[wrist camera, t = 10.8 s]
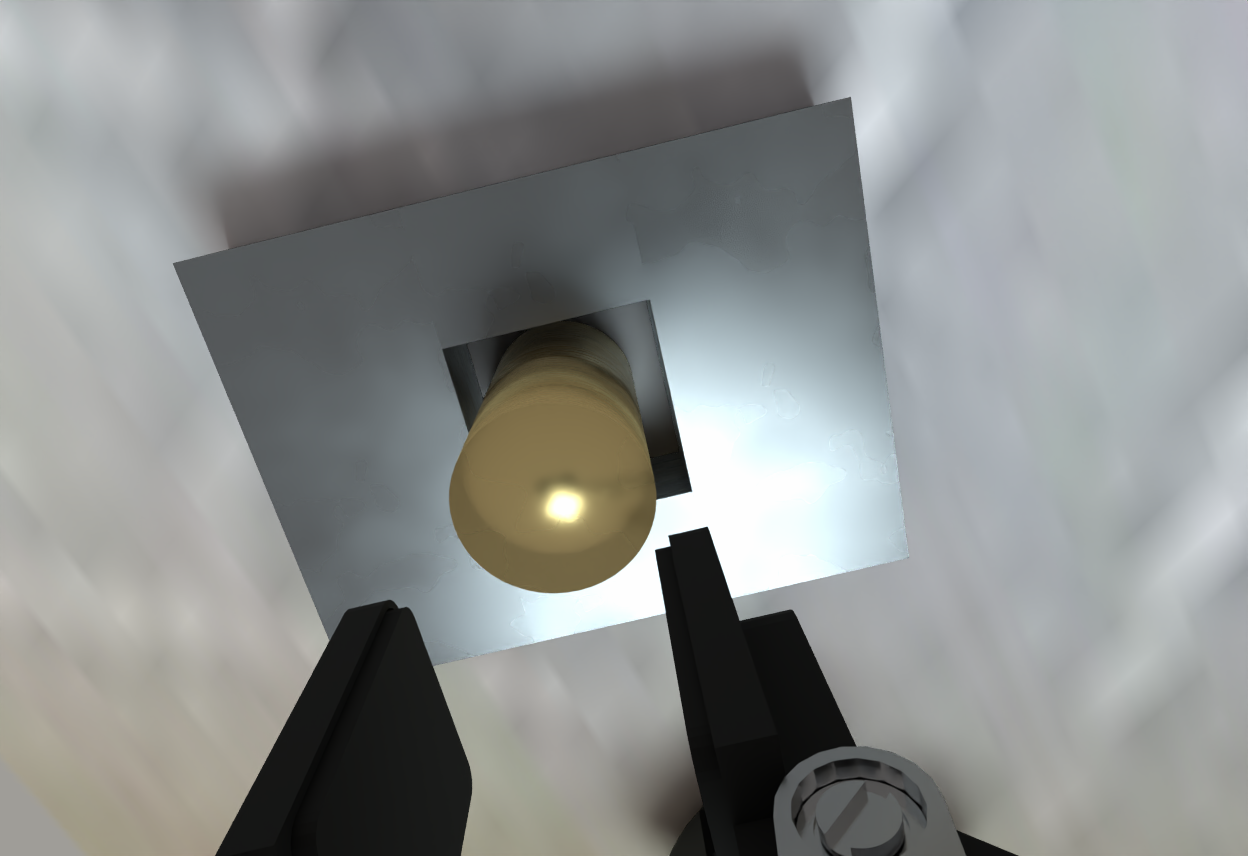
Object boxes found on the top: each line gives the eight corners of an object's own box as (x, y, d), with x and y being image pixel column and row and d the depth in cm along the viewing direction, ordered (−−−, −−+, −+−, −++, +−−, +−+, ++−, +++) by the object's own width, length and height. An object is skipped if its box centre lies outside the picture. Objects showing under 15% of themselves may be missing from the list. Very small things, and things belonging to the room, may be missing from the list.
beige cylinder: (615, 305, 22) (631, 381, 15) (646, 437, 23) (675, 568, 16) (477, 339, 22) (421, 430, 15) (516, 467, 24) (482, 612, 16)
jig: (814, 106, 21) (850, 96, 18) (871, 512, 25) (908, 558, 22) (228, 249, 21) (172, 263, 18) (374, 625, 25) (347, 685, 22)
